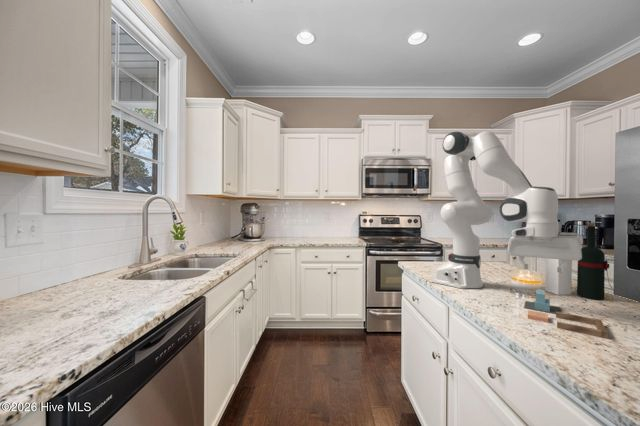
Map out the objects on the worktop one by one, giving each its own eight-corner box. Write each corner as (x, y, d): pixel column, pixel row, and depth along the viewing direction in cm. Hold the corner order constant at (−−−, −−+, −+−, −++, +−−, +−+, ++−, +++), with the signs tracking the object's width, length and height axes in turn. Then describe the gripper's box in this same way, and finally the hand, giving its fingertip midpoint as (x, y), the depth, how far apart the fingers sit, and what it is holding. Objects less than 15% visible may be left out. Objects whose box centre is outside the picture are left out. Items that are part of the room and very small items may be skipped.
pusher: (534, 309, 94) (534, 293, 94) (535, 303, 99) (535, 288, 99) (549, 311, 91) (550, 295, 91) (549, 306, 97) (549, 291, 97)
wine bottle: (613, 303, 102) (614, 224, 101) (576, 296, 109) (577, 223, 109) (612, 298, 107) (614, 223, 107) (577, 292, 114) (578, 222, 114)
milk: (545, 290, 117) (545, 240, 117) (558, 290, 117) (558, 240, 117) (558, 295, 111) (558, 242, 111) (572, 294, 111) (572, 242, 111)
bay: (557, 329, 79) (557, 322, 79) (555, 317, 87) (556, 311, 87) (607, 340, 72) (607, 332, 72) (600, 326, 81) (600, 319, 81)
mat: (523, 309, 95) (523, 308, 95) (525, 301, 102) (525, 300, 102) (561, 316, 88) (561, 315, 88) (560, 308, 96) (560, 307, 96)
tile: (527, 320, 86) (527, 314, 86) (528, 316, 90) (528, 310, 90) (548, 325, 83) (548, 318, 82) (547, 320, 86) (548, 314, 86)
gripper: (581, 232, 91) (582, 273, 91) (508, 230, 104) (508, 265, 104) (583, 233, 86) (584, 276, 86) (506, 231, 99) (507, 268, 99)
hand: (542, 270), depth 95 cm, fingers open, 8 cm apart
